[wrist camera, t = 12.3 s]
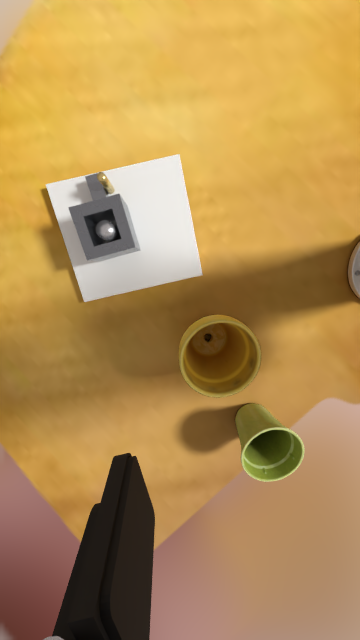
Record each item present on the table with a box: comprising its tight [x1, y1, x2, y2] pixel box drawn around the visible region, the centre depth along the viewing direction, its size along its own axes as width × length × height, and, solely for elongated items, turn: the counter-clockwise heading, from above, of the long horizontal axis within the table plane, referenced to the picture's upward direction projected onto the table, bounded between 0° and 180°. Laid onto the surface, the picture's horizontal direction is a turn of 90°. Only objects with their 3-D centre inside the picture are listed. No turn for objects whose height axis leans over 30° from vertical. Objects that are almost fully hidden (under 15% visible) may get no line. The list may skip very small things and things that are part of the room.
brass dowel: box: [97, 172, 115, 194], centre depth 28 cm, size 1×1×4 cm
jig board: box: [46, 154, 203, 302], centre depth 32 cm, size 18×16×1 cm
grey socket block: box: [68, 173, 140, 261], centre depth 28 cm, size 10×6×6 cm, turn 15°
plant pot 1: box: [178, 315, 261, 398], centre depth 32 cm, size 10×10×10 cm
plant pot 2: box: [235, 403, 304, 482], centre depth 37 cm, size 9×9×9 cm
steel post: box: [96, 220, 121, 242], centre depth 29 cm, size 2×2×5 cm
